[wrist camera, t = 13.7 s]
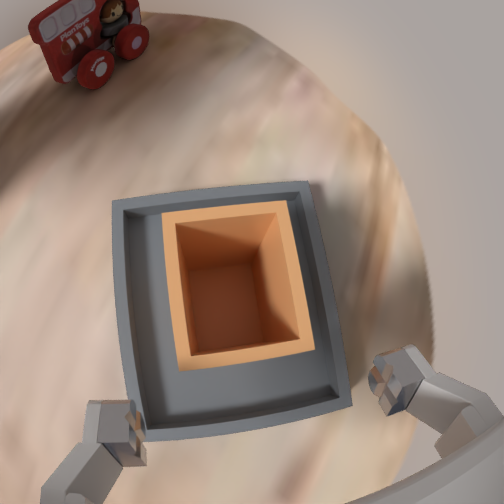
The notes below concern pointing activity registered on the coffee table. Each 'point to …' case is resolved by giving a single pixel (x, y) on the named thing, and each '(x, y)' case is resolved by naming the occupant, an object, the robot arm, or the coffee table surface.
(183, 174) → the coffee table surface
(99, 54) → the toy fire truck
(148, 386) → the tray
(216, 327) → the box
